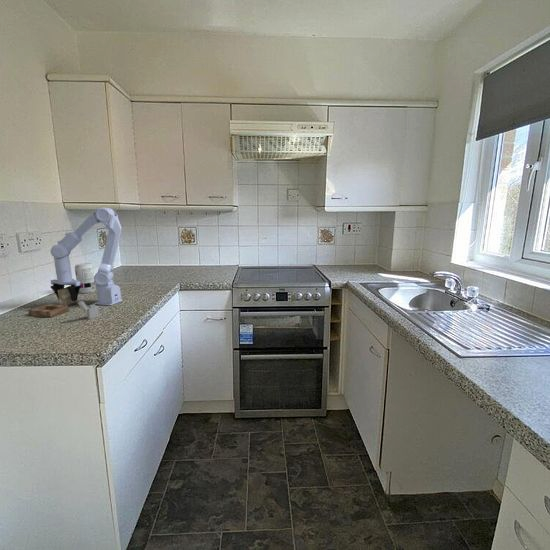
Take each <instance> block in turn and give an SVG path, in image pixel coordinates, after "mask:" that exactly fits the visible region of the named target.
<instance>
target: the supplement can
mask: <svg viewBox="0 0 550 550" xmlns="http://www.w3.org/2000/svg"><path fill="white" fill-rule="evenodd" d="M74 273H75V280H76V281H80V285H81V288H80V290H79V293H78V294H90V292H91V293H93V292H95V291H97V287H96V282H95V281H94V276H95V274H94V266H93V265H92V263H90V262H87V263H86V262H84V263H76V264H75V266H74Z"/></svg>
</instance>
